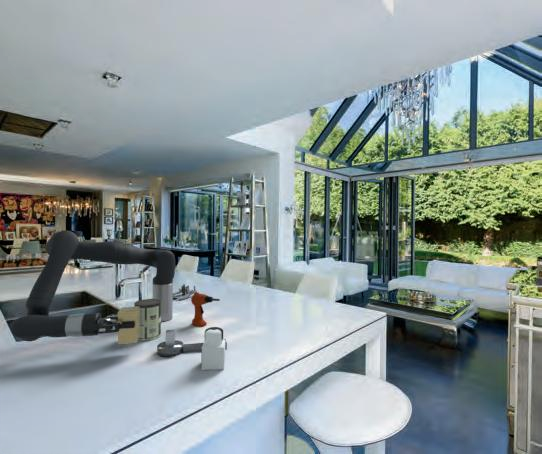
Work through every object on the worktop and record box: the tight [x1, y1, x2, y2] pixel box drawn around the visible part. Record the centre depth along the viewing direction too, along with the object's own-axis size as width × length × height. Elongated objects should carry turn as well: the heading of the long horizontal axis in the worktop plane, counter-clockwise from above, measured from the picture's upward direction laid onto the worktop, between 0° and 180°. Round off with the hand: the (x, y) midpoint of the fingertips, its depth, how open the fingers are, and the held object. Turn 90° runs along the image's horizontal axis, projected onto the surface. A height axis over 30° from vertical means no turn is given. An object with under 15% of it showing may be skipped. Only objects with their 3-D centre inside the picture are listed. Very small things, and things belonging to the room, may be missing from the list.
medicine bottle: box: [200, 326, 227, 371], centre depth 101 cm, size 7×7×12 cm
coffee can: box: [133, 298, 162, 342], centre depth 126 cm, size 10×10×14 cm
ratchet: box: [156, 329, 228, 358], centre depth 113 cm, size 24×9×8 cm, turn 103°
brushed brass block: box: [117, 306, 140, 345], centre depth 109 cm, size 6×6×11 cm
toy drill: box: [190, 291, 221, 328], centre depth 139 cm, size 5×19×15 cm, turn 52°
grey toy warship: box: [173, 283, 198, 302], centre depth 191 cm, size 14×7×20 cm
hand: (136, 321), depth 110 cm, fingers closed on brushed brass block, 6 cm apart
